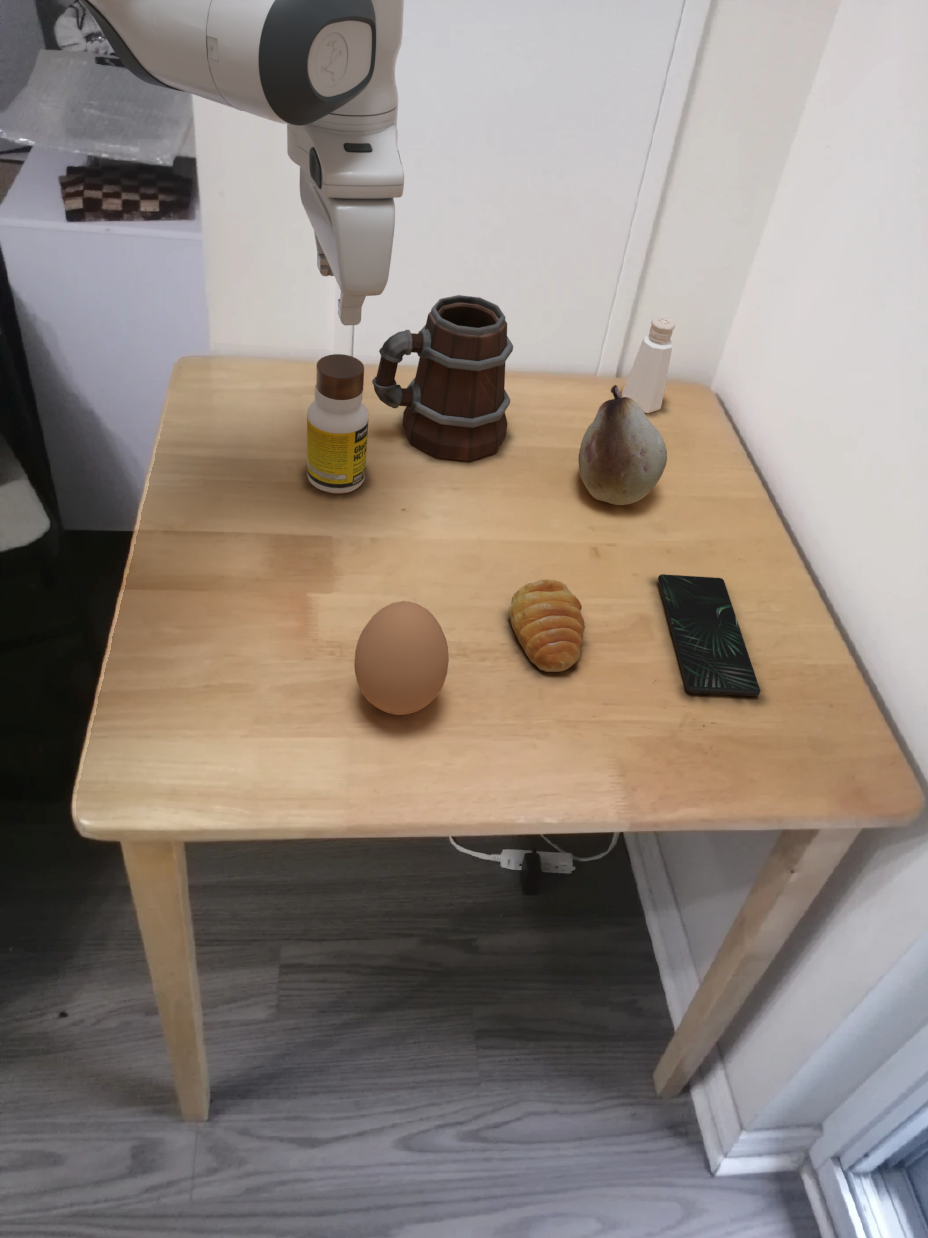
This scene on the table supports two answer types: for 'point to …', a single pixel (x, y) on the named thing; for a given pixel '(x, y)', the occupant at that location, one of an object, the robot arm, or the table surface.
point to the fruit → (621, 453)
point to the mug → (452, 379)
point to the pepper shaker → (651, 367)
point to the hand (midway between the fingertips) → (338, 296)
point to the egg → (401, 658)
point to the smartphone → (707, 636)
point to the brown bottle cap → (339, 377)
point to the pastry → (548, 624)
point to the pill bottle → (336, 443)
